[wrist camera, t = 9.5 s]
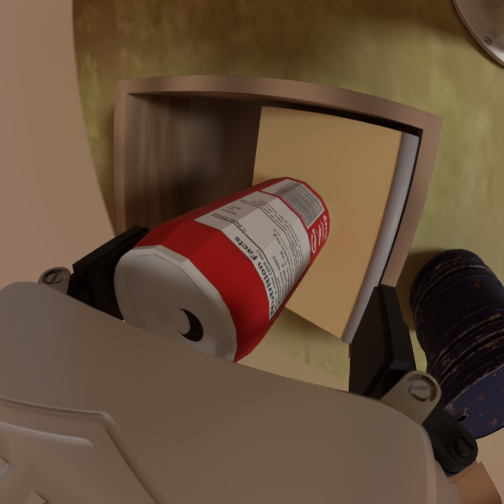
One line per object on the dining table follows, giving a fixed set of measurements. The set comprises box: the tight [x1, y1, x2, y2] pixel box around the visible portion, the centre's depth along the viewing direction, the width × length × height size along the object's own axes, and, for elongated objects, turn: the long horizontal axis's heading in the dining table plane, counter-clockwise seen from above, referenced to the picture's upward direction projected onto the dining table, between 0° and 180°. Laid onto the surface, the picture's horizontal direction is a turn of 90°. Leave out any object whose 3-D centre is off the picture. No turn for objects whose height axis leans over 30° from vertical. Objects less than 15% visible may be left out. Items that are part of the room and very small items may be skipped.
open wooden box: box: [113, 75, 442, 358], centre depth 21 cm, size 20×17×10 cm
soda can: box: [114, 177, 330, 363], centre depth 13 cm, size 6×6×12 cm
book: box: [252, 106, 420, 343], centre depth 18 cm, size 11×14×1 cm
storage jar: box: [410, 249, 504, 440], centre depth 18 cm, size 10×10×15 cm
